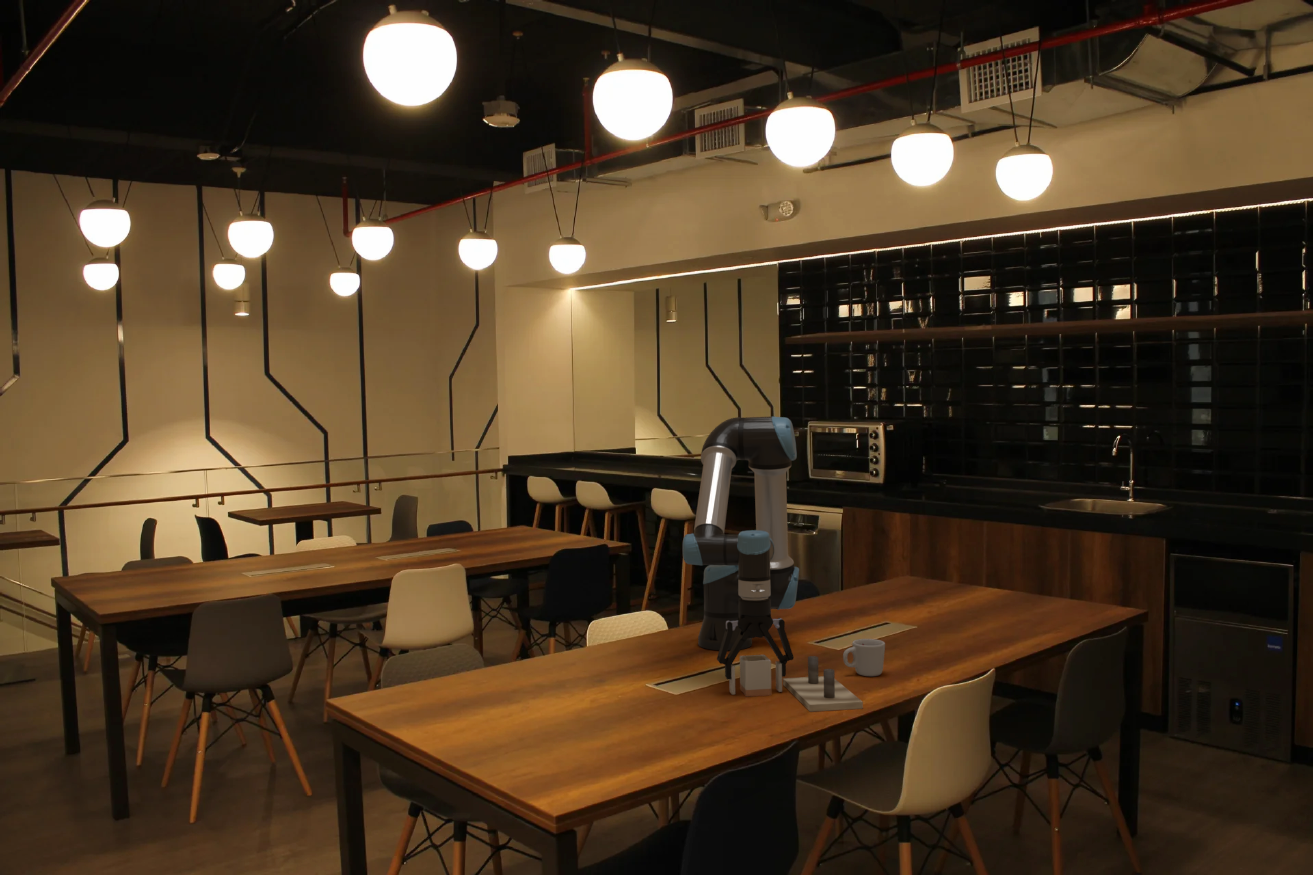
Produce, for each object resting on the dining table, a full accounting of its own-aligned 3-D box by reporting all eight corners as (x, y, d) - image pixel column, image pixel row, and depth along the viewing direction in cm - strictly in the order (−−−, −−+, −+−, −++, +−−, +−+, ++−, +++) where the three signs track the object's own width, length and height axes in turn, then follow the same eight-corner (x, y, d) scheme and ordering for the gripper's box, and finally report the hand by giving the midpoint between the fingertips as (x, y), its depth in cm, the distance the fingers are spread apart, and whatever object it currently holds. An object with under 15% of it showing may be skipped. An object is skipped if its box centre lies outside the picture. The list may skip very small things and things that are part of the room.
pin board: (783, 684, 240) (782, 653, 240) (831, 681, 242) (830, 651, 241) (810, 711, 218) (809, 677, 218) (862, 708, 220) (862, 674, 220)
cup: (851, 680, 243) (850, 647, 243) (836, 672, 250) (836, 640, 250) (891, 676, 246) (890, 644, 245) (875, 668, 253) (875, 637, 253)
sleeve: (740, 689, 236) (739, 655, 236) (764, 687, 237) (764, 654, 237) (746, 696, 231) (745, 661, 230) (771, 694, 231) (770, 660, 231)
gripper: (709, 602, 228) (710, 698, 228) (806, 598, 231) (808, 693, 232) (703, 596, 235) (704, 689, 236) (797, 592, 239) (798, 684, 239)
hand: (755, 691), depth 234 cm, fingers open, 10 cm apart
